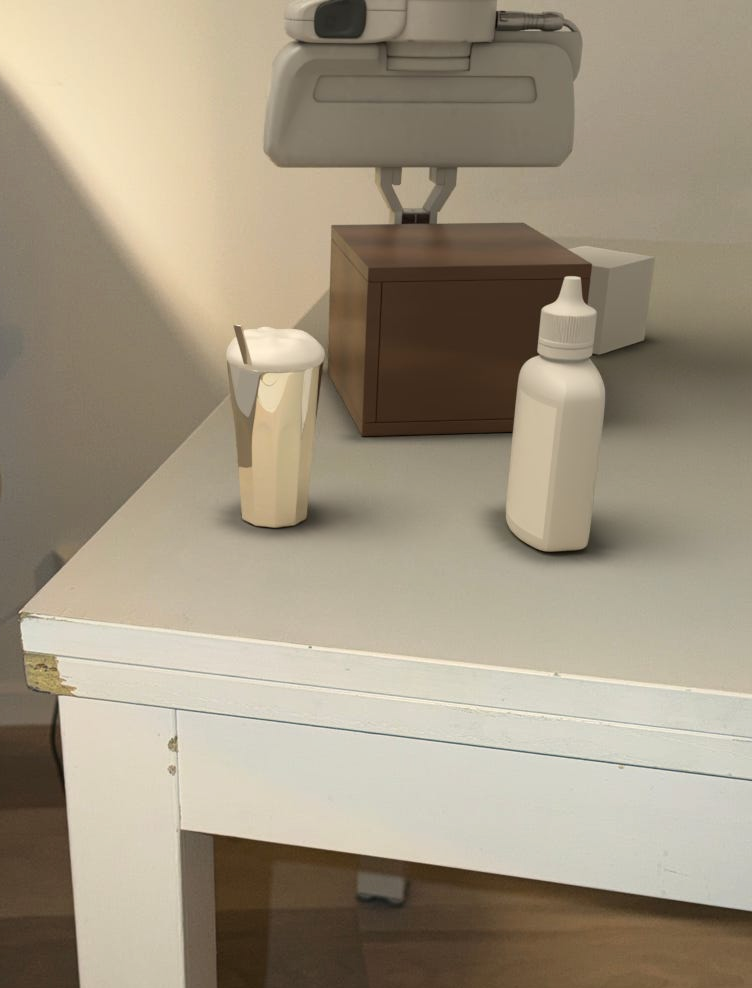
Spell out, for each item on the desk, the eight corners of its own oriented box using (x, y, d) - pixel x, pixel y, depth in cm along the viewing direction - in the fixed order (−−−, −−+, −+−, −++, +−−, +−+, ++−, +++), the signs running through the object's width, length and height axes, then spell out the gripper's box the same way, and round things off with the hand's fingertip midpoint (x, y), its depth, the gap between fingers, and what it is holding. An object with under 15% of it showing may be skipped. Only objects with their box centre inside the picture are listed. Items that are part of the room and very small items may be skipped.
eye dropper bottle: (488, 547, 61) (511, 286, 55) (510, 506, 66) (533, 262, 60) (583, 560, 60) (616, 294, 54) (598, 517, 64) (630, 269, 59)
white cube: (599, 355, 92) (609, 268, 89) (528, 340, 96) (536, 256, 93) (644, 340, 96) (655, 256, 93) (574, 326, 100) (583, 245, 97)
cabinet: (327, 373, 88) (331, 224, 83) (510, 368, 89) (524, 222, 84) (361, 436, 75) (368, 267, 71) (573, 430, 77) (592, 263, 72)
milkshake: (199, 525, 63) (195, 318, 59) (261, 493, 67) (262, 296, 63) (277, 546, 61) (279, 332, 56) (337, 511, 65) (343, 309, 60)
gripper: (570, 10, 86) (547, 228, 92) (260, 6, 83) (258, 230, 90) (602, 13, 80) (576, 245, 86) (271, 9, 78) (268, 247, 84)
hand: (411, 237), depth 88 cm, fingers closed
